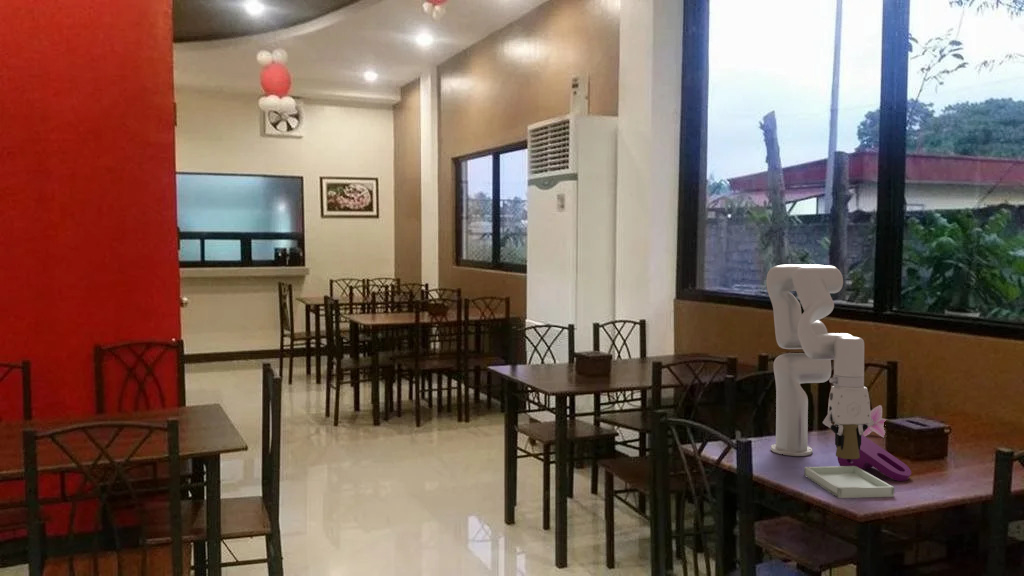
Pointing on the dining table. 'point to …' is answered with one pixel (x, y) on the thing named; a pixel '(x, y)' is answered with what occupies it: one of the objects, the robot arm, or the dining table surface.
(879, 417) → the lily
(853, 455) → the cork
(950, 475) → the dining table surface
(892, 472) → the mounting bracket
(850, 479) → the tray
